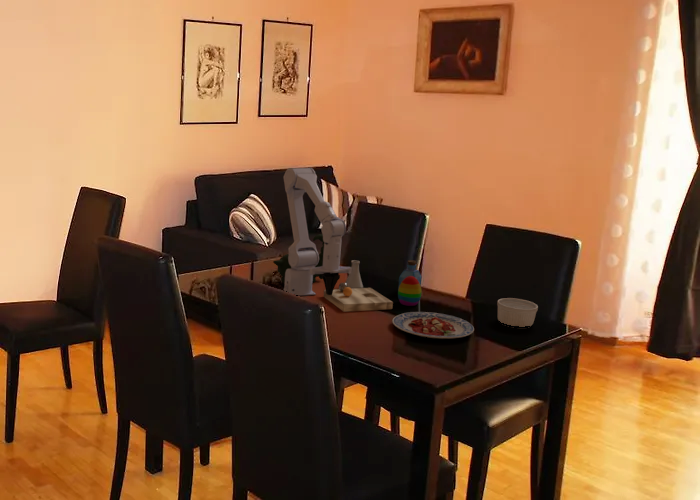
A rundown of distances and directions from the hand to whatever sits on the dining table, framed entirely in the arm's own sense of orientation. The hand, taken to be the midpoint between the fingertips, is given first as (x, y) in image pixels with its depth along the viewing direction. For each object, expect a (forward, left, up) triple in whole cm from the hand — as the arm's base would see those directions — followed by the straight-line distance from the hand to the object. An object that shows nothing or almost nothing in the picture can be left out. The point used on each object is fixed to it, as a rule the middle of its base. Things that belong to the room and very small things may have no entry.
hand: (329, 294), depth 273 cm
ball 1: (+8, +6, +1) cm, 10 cm away
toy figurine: (+1, +29, -4) cm, 29 cm away
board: (+11, 0, -3) cm, 11 cm away
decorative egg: (+29, -4, -4) cm, 29 cm away
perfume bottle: (+36, +9, -4) cm, 37 cm away
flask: (+18, +19, -4) cm, 26 cm away
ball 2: (+7, 0, +1) cm, 7 cm away
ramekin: (+55, -31, -4) cm, 63 cm away
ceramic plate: (+22, -32, -4) cm, 39 cm away
